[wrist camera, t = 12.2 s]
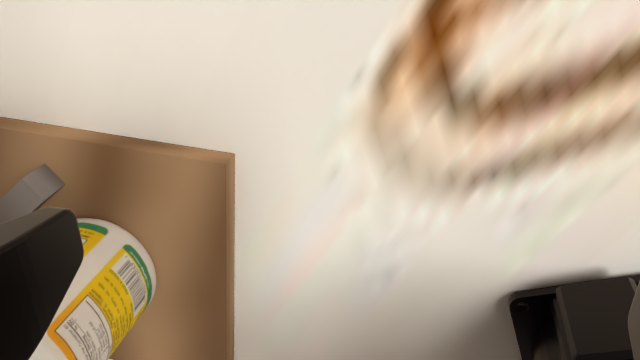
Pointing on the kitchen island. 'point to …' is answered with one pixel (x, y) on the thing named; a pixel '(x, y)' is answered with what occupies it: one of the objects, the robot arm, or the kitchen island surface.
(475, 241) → the kitchen island surface
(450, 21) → the kitchen island surface
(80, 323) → the supplement bottle
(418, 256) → the kitchen island surface
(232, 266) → the square wooden base plate
